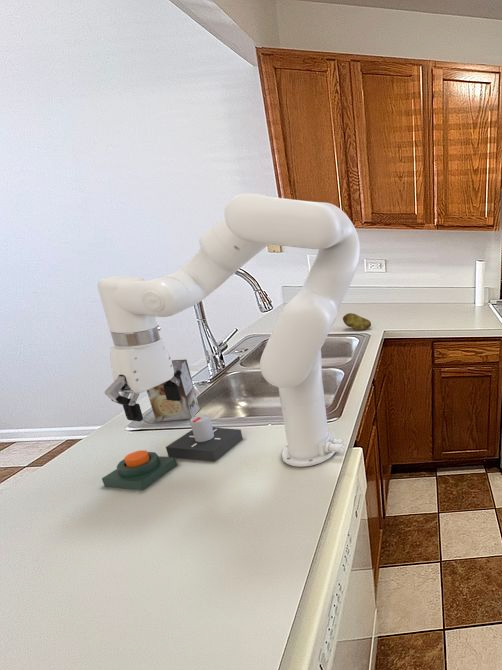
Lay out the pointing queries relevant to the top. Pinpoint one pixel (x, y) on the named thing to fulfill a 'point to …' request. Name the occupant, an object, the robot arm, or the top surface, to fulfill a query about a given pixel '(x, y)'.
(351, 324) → the potato
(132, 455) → the button
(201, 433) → the timer knob
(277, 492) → the top surface
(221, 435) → the timer panel
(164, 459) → the block
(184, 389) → the food box
